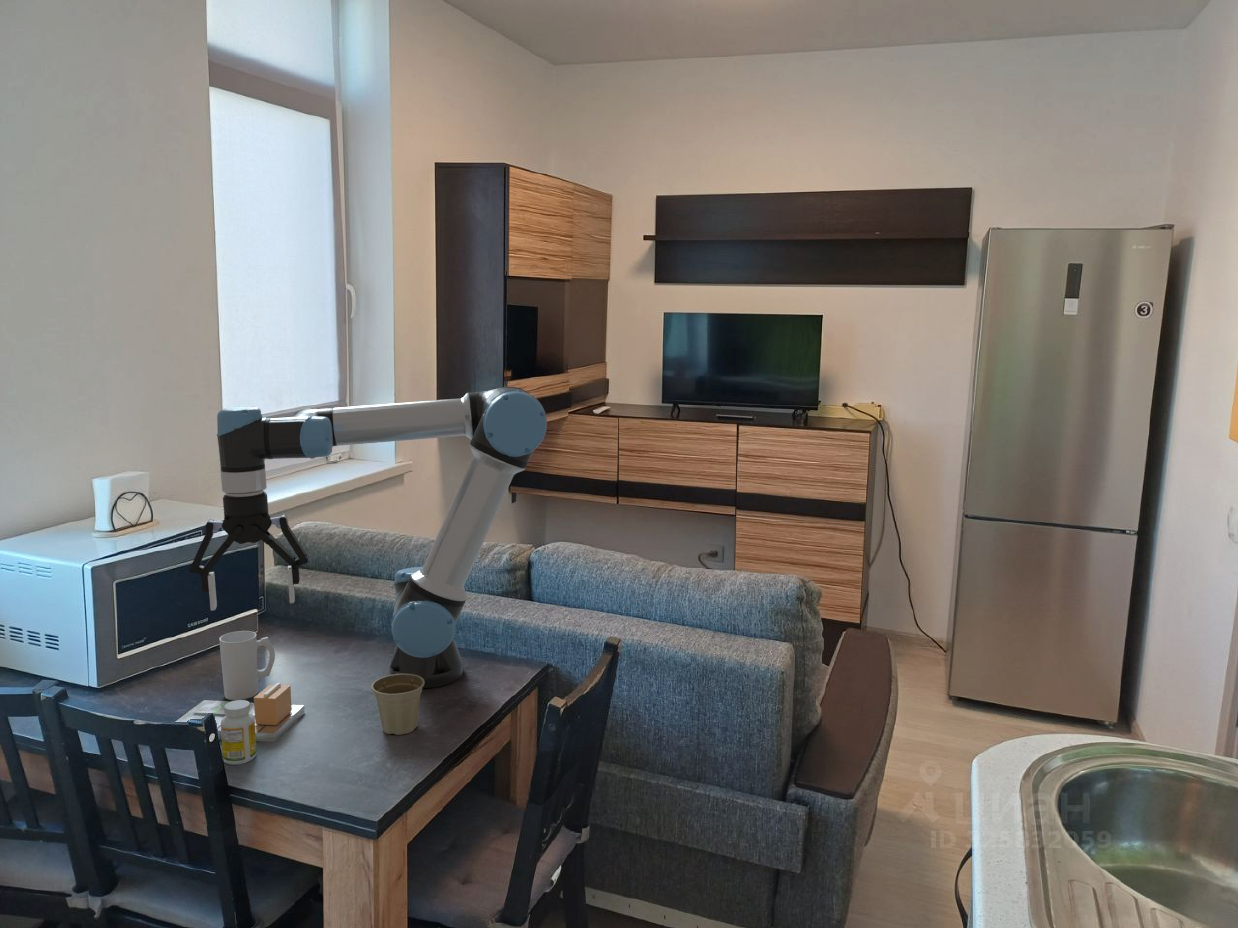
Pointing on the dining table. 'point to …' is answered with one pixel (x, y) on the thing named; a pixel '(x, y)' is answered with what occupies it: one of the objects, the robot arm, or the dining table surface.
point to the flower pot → (398, 702)
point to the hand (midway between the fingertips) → (253, 604)
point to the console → (261, 730)
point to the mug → (243, 663)
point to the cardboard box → (272, 704)
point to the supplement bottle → (238, 733)
